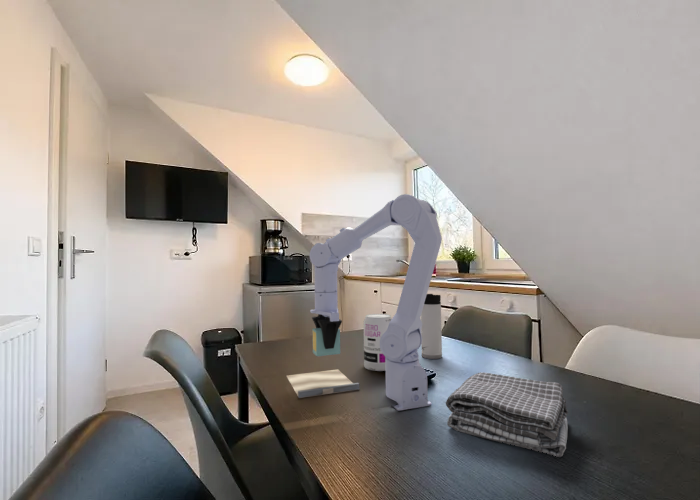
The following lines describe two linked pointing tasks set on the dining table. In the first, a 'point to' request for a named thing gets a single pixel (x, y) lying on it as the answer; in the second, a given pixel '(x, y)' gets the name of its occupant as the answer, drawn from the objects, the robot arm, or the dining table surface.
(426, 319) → the travel mug
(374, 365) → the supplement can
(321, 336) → the carton
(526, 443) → the towel
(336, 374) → the shelf board
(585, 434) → the dining table surface
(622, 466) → the dining table surface
